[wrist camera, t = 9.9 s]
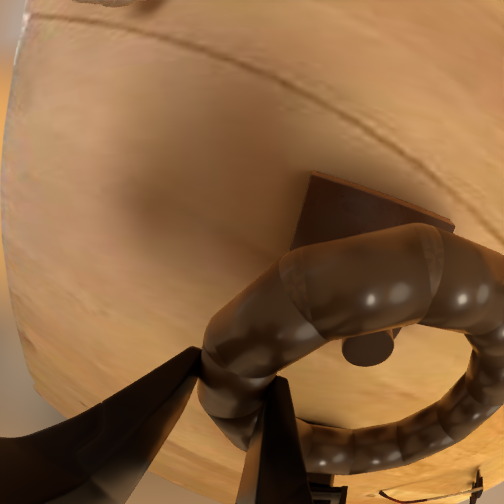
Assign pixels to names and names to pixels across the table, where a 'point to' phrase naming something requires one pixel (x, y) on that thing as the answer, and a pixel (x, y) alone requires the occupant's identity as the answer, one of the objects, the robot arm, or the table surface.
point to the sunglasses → (475, 493)
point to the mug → (109, 2)
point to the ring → (355, 324)
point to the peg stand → (354, 223)
